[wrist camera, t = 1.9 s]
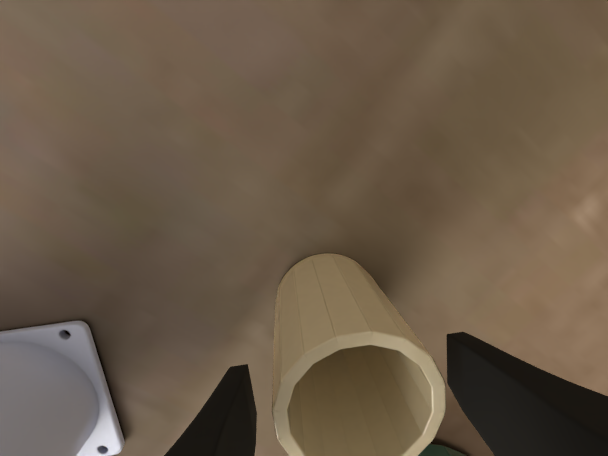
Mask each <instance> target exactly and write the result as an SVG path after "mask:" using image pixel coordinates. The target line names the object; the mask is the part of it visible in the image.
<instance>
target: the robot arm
mask: <svg viewBox="0 0 608 456" xmlns="http://www.w3.org/2000/svg"><path fill="white" fill-rule="evenodd" d="M64 330H67V331H68V332H69V333H70V335H68V334H66V333H65V331H64ZM447 383H448V385H449V387H450V389H451V390H452V392H453V394H454V396H455V398H456V400H457V401H458V403H459V405H460V407H461V408H462V410H463V412H464V413H465V415H466V416H467V417H468V419H469V420H470V422H471V423H472V424H473V426H474V427H475V429H476V430H477V431H478V433H479V434H480V436H481V437H482V438H483V440H484V441H485V443H486V444H487V445H488V447H489V448H490V450H491V451H492V452H493V454H494V455H495V456H608V396H605V395H603V394H600V393H597V392H595V391H592V390H589V389H587V388H584V387H581V386H579V385H576V384H574V383H571V382H569V381H566V380H564V379H562V378H559V377H557V376H555V375H552V374H550V373H548V372H546V371H543V370H541V369H539V368H537V367H535V366H532V365H530V364H528V363H526V362H524V361H522V360H520V359H518V358H516V357H514V356H512V355H510V354H508V353H506V352H504V351H502V350H500V349H498V348H496V347H494V346H492V345H490V344H488V343H486V342H484V341H482V340H480V339H478V338H476V337H474V336H471V335H469V334H467V333H465V332H459V333H452V334H447ZM256 419H257V412H256V407H255V401H254V396H253V390H252V385H251V379H250V374H249V369H248V364H246V365H240V366H233V367H230V368H229V369H228V371H227V372H226V374H225V375H224V377H223V378H222V380H221V381H220V383H219V384H218V386H217V387H216V389H215V390H214V392H213V393H212V395H211V396H210V398H209V399H208V401H207V402H206V403H205V405H204V406H203V408H202V409H201V410H200V412H199V413H198V415H197V416H196V417H195V419H194V420H193V421H192V422H191V424H190V425H189V426H188V428H187V429H186V430H185V431H184V433H183V434H182V435H181V437H180V438H179V439H178V440H177V441H176V443H175V444H174V445H173V446H172V447H171V448H170V450H169V451H168V452H167V453H166V454H165V455H164V456H254V453H255V446H256ZM124 444H125V441H124V438H123V434H122V431H121V428H120V425H119V421H118V418H117V415H116V412H115V408H114V405H113V402H112V399H111V396H110V392H109V389H108V386H107V383H106V379H105V376H104V373H103V370H102V366H101V363H100V360H99V357H98V353H97V350H96V347H95V344H94V340H93V337H92V334H91V331H90V328H89V326H88V325H87V324H86V323H85V322H83V321H71V322H64V323H57V324H50V325H43V326H36V327H29V328H22V329H15V330H8V331H1V332H0V456H110V455H115V454H118V453H120V452H121V450H122V448H123V446H124ZM104 446H106V447H104Z"/></svg>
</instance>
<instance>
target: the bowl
mask: <svg viewBox="0 0 608 456" xmlns="http://www.w3.org/2000/svg"><path fill="white" fill-rule="evenodd" d="M418 456H467V455H465V454H462V453H460V452H458V451H455V450H453V449H451V448H448V447H446V446H443V445H435V444H429V445H428V446H427V447H426V448H425V449H424V450H423V451H422V452H421V453H420V454H419V455H418Z"/></svg>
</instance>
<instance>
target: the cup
mask: <svg viewBox="0 0 608 456" xmlns="http://www.w3.org/2000/svg"><path fill="white" fill-rule="evenodd" d="M445 411H446V398H445V381H444V379H443V377H442V375H441V373H440V371H439V369H438V368H437V366H436V364H435V362H434V360H433V358H432V357H431V355H430V354H429V353H428V351H427V350H426V349H425V347H424V346H423V345H422V343H421V342H420V341H419V339H418V338H417V337H416V335H415V334H414V333H413V331H412V330H411V329H410V327H409V326H408V325H407V323H406V322H405V321H404V319H403V318H402V317H401V315H400V314H399V313H398V311H397V310H396V309H395V307H394V306H393V305H392V303H391V302H390V301H389V299H388V298H387V297H386V295H385V294H384V293H383V291H382V290H381V289H380V287H379V286H378V285H377V283H376V282H375V281H374V279H373V278H372V277H371V275H370V274H369V273H368V272H367V271H366V270H365V269H364V268H363V267H362V266H361V265H360V264H359V263H357V262H356V261H354V260H353V259H350V258H348V257H346V256H343V255H339V254H330V253H326V254H318V255H313V256H310V257H308V258H305V259H303V260H301V261H300V262H298V263H297V264H295V265H294V266H293V267H292V268H291V269H290V270H289V271H288V272H287V273H286V274H285V276H284V277H283V279H282V281H281V283H280V285H279V287H278V290H277V295H276V302H275V322H274V359H273V395H272V414H273V420H274V425H275V431H276V437H277V439H278V441H279V442H280V444H281V445H282V446H283V448H284V449H285V451H286V452H287V453H288V455H289V456H418V455H419V454H420V453H421V452H422V451H423V450H424V449H425V448H426V447H427V446H428V445H429V444H430V443H431V442H432V441H433V438H435V435H436V433H437V431H438V428H439V426H440V424H441V422H442V419H443V417H444V415H445Z"/></svg>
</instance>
